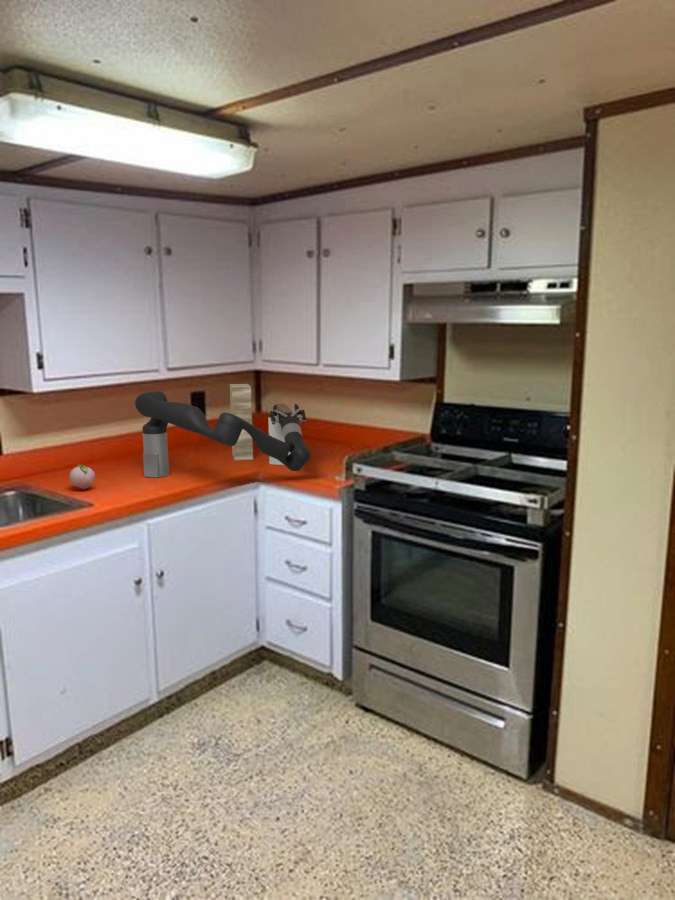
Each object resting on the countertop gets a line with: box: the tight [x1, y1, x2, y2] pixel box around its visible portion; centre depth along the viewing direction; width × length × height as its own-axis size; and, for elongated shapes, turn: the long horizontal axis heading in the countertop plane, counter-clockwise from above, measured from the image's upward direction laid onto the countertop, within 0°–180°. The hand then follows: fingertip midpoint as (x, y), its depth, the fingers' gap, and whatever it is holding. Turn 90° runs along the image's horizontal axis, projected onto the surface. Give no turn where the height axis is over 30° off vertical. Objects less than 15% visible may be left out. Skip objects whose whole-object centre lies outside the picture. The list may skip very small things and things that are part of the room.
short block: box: [267, 415, 300, 466], centre depth 294 cm, size 10×10×20 cm
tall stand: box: [229, 383, 254, 461], centre depth 303 cm, size 12×8×32 cm, turn 13°
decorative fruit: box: [69, 462, 96, 491], centre depth 251 cm, size 9×8×10 cm
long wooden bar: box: [275, 403, 293, 414], centre depth 291 cm, size 21×4×4 cm, turn 13°
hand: (285, 405), depth 286 cm, fingers open, 8 cm apart
